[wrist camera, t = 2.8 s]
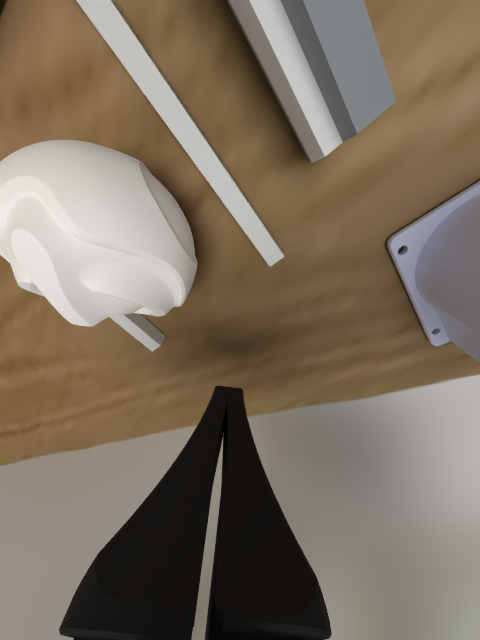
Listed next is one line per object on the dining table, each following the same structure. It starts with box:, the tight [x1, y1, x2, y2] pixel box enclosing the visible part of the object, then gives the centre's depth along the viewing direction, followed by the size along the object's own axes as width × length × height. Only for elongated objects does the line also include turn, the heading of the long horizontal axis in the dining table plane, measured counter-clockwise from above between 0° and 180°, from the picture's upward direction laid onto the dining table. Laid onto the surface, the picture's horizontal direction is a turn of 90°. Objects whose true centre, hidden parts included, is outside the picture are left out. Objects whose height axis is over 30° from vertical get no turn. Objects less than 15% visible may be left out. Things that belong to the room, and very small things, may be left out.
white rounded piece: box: [0, 140, 198, 326], centre depth 10 cm, size 8×8×8 cm
